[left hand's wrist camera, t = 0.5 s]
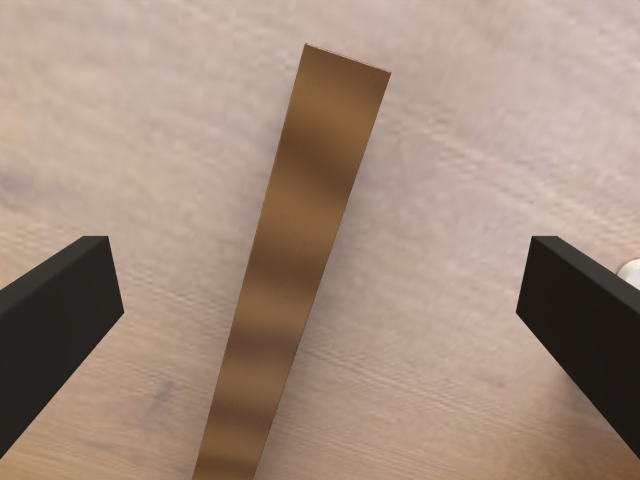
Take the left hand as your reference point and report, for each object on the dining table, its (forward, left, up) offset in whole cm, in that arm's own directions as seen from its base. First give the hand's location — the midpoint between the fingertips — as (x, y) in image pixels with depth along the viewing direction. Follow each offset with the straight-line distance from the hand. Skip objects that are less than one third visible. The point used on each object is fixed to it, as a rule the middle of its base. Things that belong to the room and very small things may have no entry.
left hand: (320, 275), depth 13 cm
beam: (+6, -18, -19) cm, 27 cm away
